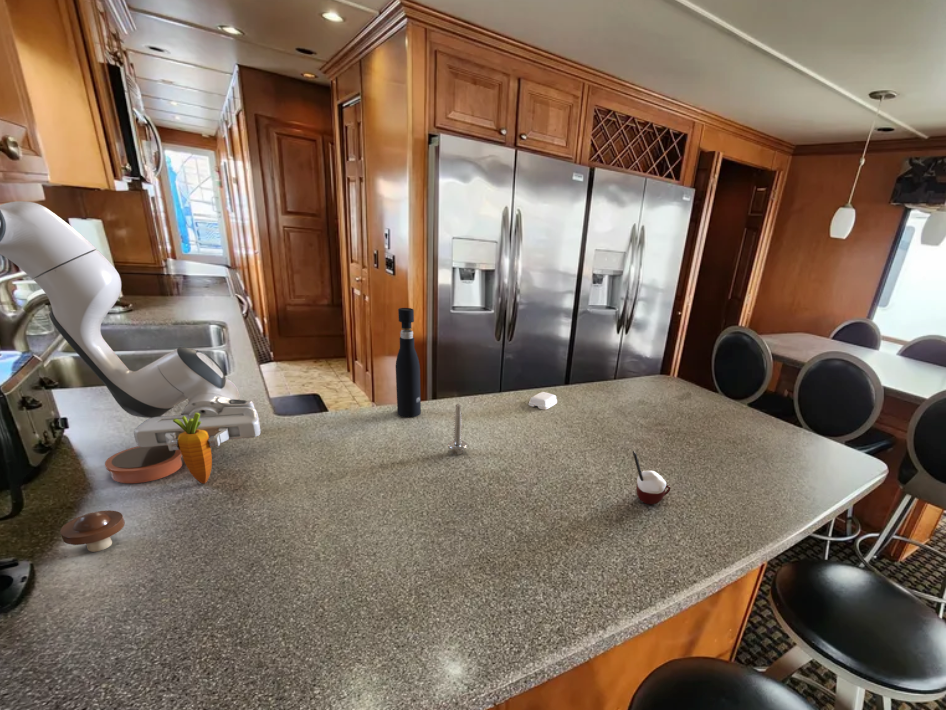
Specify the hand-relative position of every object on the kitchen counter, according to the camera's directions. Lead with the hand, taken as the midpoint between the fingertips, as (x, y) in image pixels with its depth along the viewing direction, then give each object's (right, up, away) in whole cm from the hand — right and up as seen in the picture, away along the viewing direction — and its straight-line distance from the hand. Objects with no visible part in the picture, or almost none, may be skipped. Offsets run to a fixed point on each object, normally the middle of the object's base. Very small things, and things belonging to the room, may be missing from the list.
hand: (193, 445), depth 87 cm
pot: (-15, -5, +7) cm, 17 cm away
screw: (+45, -4, +26) cm, 52 cm away
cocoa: (+89, -13, +14) cm, 91 cm away
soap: (+65, +9, +63) cm, 90 cm away
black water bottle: (+26, +6, +45) cm, 53 cm away
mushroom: (-4, -15, -14) cm, 21 cm away
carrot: (-1, -8, +4) cm, 9 cm away
